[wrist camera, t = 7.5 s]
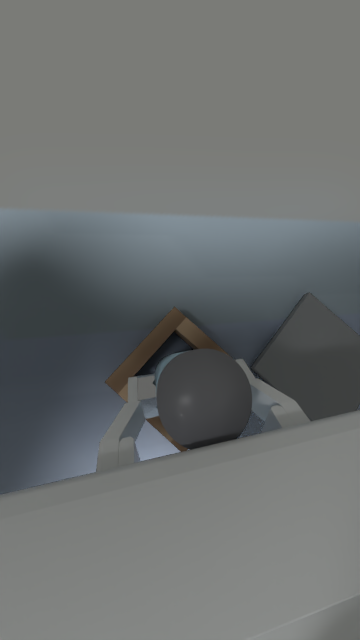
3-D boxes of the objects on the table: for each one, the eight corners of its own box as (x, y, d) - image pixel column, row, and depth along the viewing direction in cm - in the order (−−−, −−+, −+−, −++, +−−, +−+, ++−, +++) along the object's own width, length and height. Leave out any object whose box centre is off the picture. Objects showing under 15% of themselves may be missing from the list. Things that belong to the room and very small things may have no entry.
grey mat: (250, 368, 21) (254, 368, 20) (304, 294, 23) (309, 292, 22) (331, 439, 20) (338, 442, 20) (377, 357, 23) (385, 357, 22)
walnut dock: (109, 379, 19) (104, 382, 17) (172, 311, 21) (174, 306, 19) (180, 444, 19) (183, 454, 17) (237, 369, 21) (246, 370, 19)
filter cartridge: (145, 377, 18) (135, 404, 8) (174, 345, 19) (200, 329, 9) (177, 406, 18) (212, 475, 8) (204, 372, 19) (270, 391, 9)
